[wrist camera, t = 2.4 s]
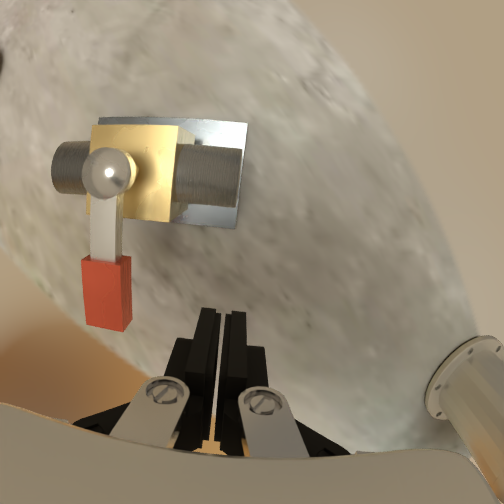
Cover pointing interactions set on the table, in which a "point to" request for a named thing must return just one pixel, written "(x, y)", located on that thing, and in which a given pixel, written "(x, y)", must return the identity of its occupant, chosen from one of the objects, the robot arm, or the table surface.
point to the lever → (107, 240)
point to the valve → (166, 167)
